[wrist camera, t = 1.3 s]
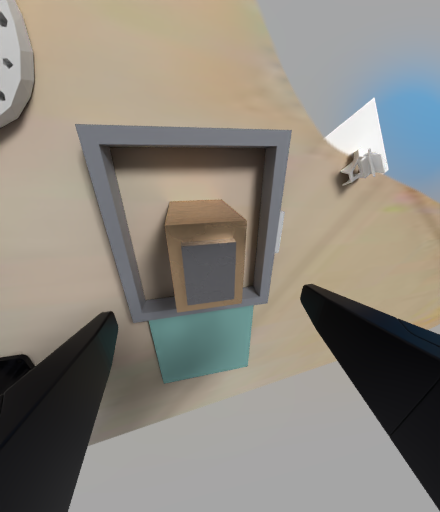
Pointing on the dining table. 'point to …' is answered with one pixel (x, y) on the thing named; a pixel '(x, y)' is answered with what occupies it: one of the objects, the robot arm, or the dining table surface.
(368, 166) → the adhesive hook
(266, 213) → the grey tapered frame
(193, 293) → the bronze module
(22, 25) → the mechanical component
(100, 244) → the dining table surface
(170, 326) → the service mat
